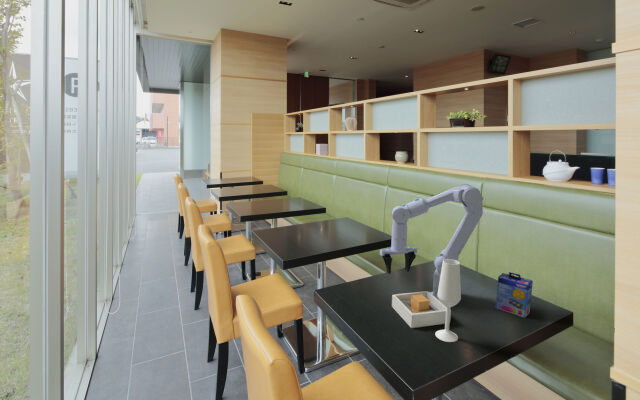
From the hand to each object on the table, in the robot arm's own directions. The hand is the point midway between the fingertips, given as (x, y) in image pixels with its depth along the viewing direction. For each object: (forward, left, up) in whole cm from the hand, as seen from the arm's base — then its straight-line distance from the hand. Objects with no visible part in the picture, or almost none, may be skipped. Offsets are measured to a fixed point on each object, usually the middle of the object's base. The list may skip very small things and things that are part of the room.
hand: (397, 271), depth 134 cm
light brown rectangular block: (-1, +16, -10) cm, 18 cm away
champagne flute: (-3, +30, -10) cm, 32 cm away
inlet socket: (-1, +16, -9) cm, 19 cm away
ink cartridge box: (-34, +21, -10) cm, 41 cm away
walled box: (-1, +16, -9) cm, 19 cm away
